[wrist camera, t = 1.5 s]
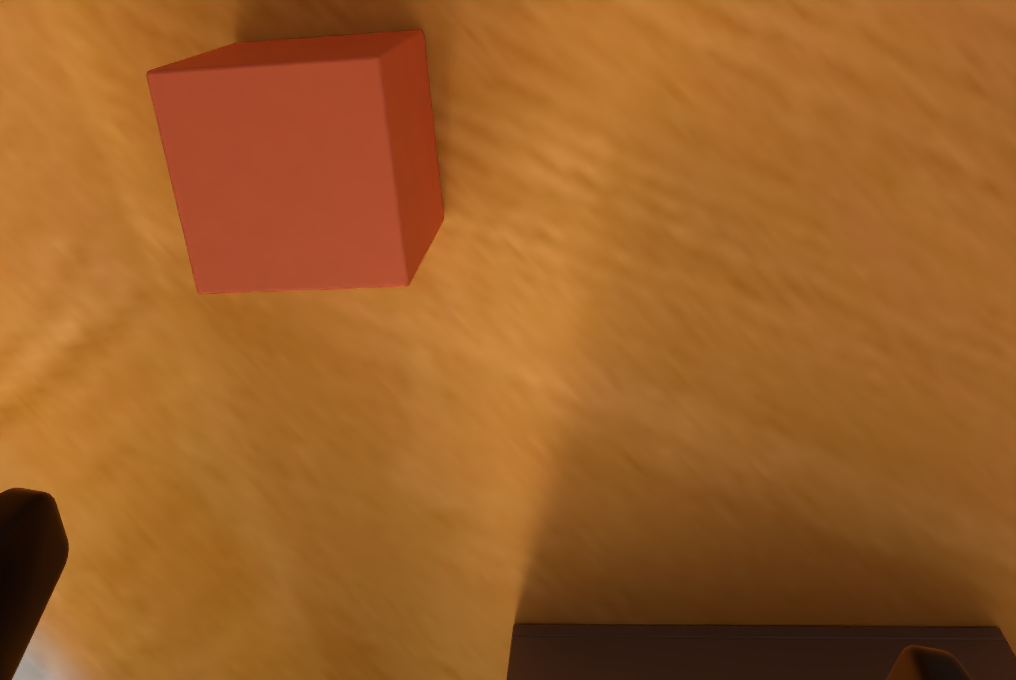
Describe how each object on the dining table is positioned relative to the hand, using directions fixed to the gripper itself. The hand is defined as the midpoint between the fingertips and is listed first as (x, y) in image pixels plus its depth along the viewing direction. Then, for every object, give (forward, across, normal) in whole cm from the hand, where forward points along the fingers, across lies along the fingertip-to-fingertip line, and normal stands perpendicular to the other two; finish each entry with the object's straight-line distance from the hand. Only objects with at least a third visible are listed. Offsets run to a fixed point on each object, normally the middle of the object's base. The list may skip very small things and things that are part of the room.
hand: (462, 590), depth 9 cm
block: (+13, +6, +1) cm, 15 cm away
